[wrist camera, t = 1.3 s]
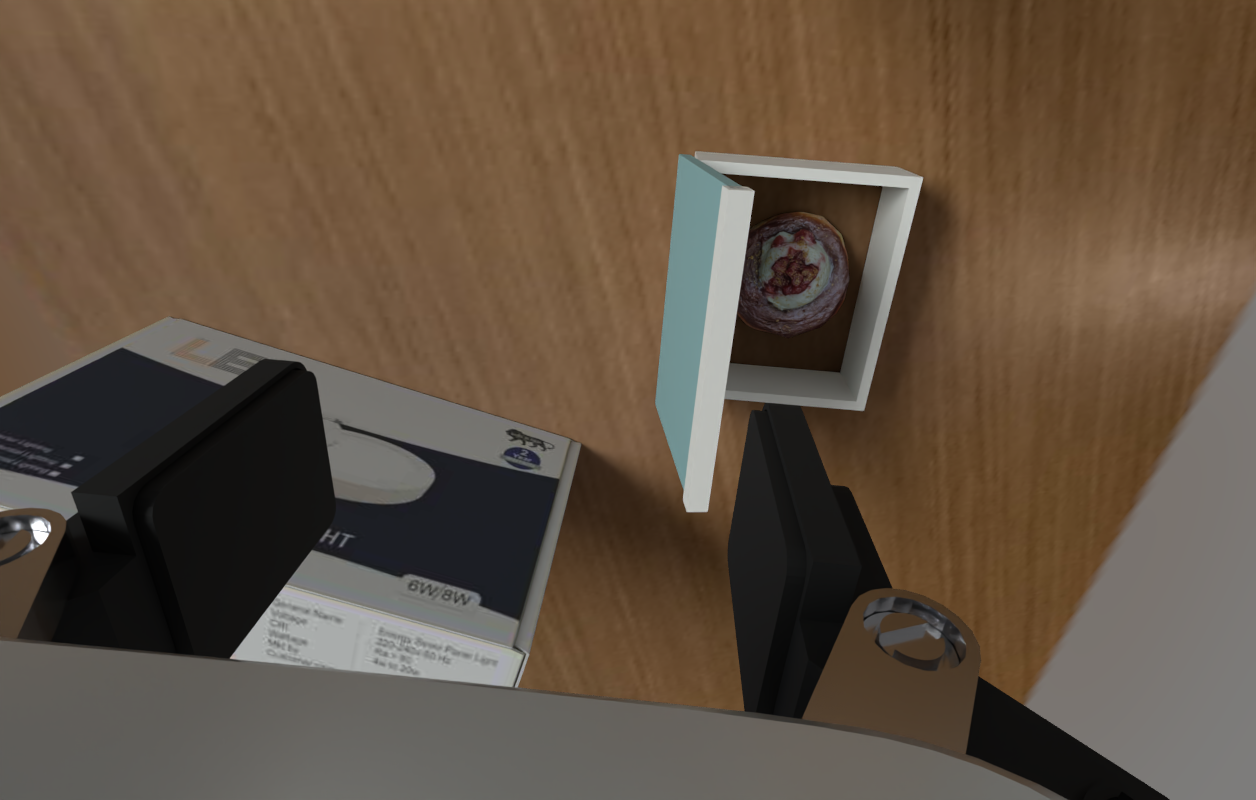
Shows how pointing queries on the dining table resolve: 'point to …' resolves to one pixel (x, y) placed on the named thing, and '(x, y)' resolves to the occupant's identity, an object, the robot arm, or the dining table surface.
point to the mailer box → (873, 293)
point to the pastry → (793, 274)
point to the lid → (700, 318)
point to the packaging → (365, 502)
